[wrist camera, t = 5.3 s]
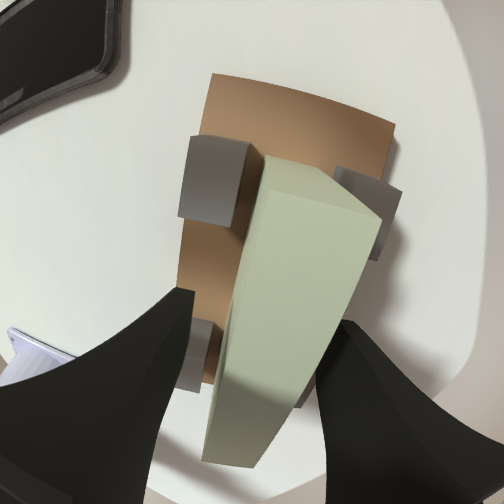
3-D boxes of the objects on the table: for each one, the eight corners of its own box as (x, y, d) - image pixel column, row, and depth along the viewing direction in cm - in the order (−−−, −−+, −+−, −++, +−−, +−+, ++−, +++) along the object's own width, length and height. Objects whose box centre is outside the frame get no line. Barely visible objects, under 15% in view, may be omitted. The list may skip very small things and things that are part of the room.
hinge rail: (288, 383, 16) (291, 430, 13) (173, 362, 16) (159, 408, 13) (385, 123, 10) (429, 126, 7) (216, 77, 10) (197, 57, 6)
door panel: (256, 364, 14) (253, 468, 9) (218, 357, 14) (201, 461, 9) (318, 168, 10) (382, 220, 5) (265, 154, 10) (269, 189, 4)
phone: (-47, 56, 6) (121, -57, 5) (-37, 56, 7) (130, -49, 6) (-50, 155, 10) (112, 74, 9) (-39, 152, 11) (124, 77, 10)
